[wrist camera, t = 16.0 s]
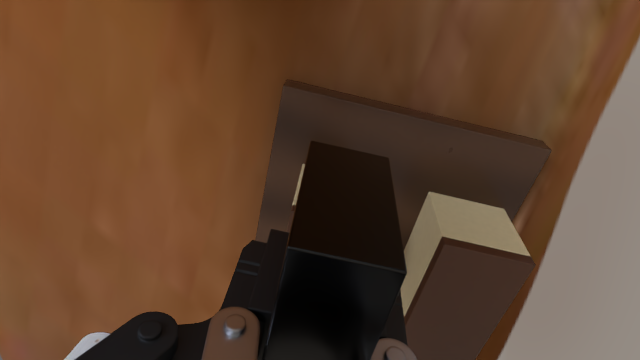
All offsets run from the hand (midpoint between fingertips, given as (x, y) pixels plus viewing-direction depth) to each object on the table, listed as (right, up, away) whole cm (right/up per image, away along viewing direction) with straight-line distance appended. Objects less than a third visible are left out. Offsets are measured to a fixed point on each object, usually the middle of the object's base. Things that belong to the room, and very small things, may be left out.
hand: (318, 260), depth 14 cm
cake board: (+4, -1, +19) cm, 19 cm away
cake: (+9, -4, +18) cm, 21 cm away
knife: (-1, -5, +3) cm, 6 cm away
